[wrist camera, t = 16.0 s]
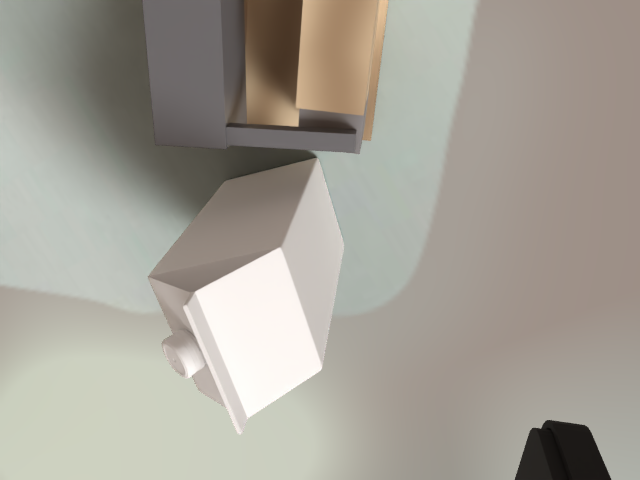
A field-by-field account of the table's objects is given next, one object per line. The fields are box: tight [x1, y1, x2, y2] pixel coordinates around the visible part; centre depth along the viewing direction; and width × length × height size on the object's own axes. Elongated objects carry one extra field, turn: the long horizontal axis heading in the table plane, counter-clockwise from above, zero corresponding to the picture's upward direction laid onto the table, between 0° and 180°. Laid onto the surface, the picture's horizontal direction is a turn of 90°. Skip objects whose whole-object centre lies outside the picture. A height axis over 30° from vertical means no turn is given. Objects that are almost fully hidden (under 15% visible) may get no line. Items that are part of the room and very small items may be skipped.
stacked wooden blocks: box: [244, 0, 388, 154], centre depth 33 cm, size 13×14×10 cm
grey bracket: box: [142, 0, 357, 153], centre depth 32 cm, size 11×11×5 cm
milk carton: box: [148, 158, 344, 434], centre depth 34 cm, size 7×7×19 cm
